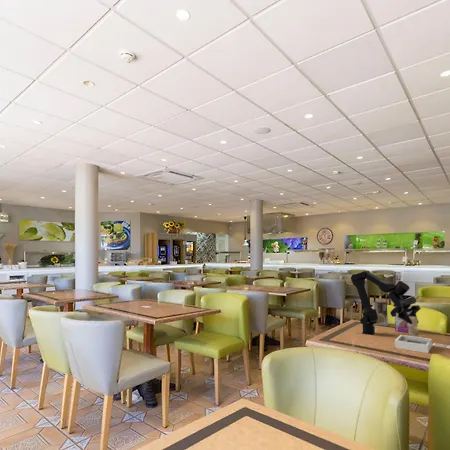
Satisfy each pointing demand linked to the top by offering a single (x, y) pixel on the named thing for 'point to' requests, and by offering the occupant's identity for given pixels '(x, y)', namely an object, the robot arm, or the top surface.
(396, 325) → the candy bar box
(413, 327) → the peg
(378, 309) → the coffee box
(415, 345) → the bore box
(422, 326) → the top surface
